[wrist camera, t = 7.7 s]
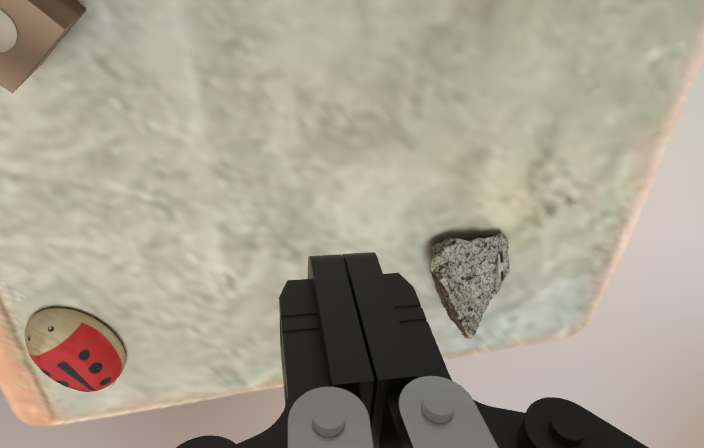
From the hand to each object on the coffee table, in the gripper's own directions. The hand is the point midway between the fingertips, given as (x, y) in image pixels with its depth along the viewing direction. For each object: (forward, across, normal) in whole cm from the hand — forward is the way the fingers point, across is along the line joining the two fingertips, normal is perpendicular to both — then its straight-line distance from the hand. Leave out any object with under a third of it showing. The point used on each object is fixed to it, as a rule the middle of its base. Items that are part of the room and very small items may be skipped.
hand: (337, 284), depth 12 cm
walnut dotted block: (+27, +15, 0) cm, 31 cm away
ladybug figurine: (+28, +18, +28) cm, 43 cm away
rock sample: (+27, -17, +22) cm, 39 cm away
